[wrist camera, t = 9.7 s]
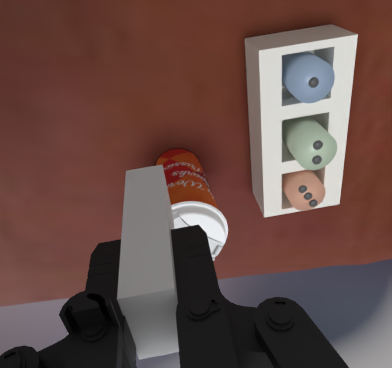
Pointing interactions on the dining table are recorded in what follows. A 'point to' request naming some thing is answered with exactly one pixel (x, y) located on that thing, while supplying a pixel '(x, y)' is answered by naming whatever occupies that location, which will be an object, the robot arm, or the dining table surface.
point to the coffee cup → (192, 197)
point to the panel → (295, 110)
